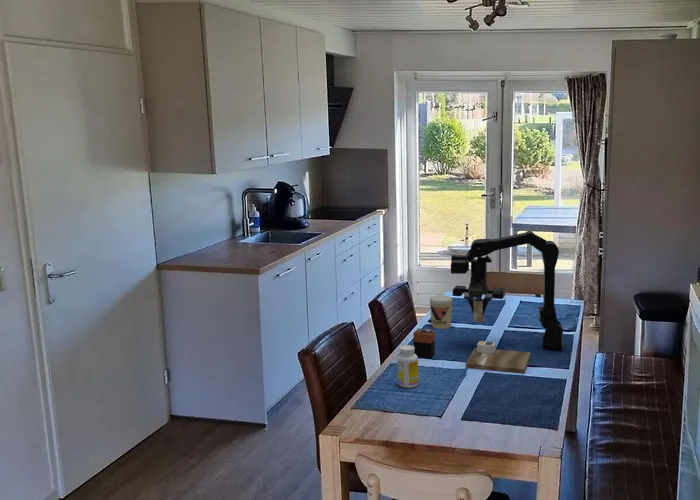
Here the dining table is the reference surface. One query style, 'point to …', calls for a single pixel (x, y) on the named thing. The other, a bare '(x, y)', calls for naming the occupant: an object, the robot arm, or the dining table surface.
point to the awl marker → (478, 310)
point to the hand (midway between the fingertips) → (478, 314)
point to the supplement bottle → (407, 367)
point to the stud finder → (486, 347)
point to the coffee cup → (441, 311)
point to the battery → (424, 343)
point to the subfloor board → (499, 361)
